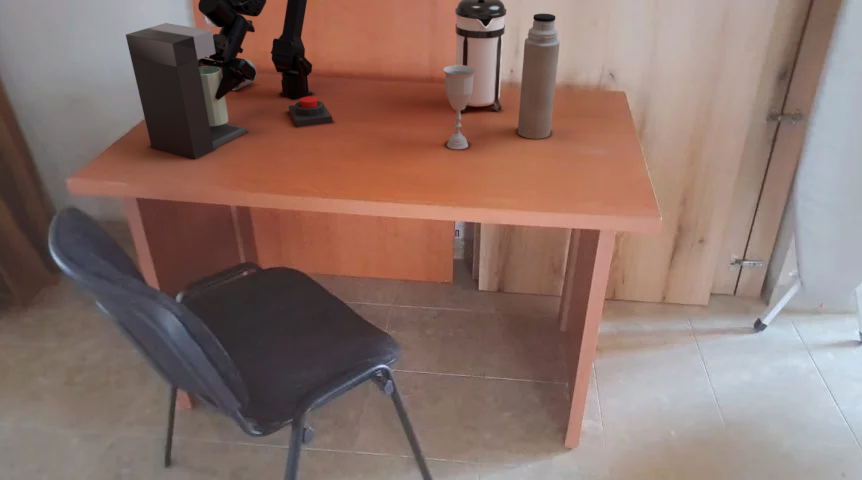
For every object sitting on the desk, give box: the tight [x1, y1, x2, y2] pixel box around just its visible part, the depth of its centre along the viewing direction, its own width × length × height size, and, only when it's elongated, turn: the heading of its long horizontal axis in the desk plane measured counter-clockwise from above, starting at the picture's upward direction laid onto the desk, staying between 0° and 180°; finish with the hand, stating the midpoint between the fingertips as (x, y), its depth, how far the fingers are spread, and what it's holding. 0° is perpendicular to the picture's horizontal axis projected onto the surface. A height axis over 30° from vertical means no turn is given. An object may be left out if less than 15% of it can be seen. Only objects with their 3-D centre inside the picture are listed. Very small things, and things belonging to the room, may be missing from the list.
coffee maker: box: [125, 22, 248, 160], centre depth 161 cm, size 18×14×26 cm
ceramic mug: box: [220, 58, 258, 91], centre depth 199 cm, size 11×8×8 cm
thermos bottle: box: [517, 13, 561, 140], centre depth 164 cm, size 8×8×28 cm
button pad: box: [288, 99, 333, 128], centre depth 179 cm, size 11×9×4 cm
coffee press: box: [454, 0, 507, 114], centre depth 181 cm, size 17×16×30 cm
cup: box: [199, 66, 230, 126], centre depth 167 cm, size 7×7×12 cm
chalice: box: [442, 64, 476, 150], centre depth 161 cm, size 7×7×18 cm
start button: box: [299, 95, 319, 108], centre depth 178 cm, size 4×4×2 cm
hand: (205, 96), depth 166 cm, fingers closed on cup, 7 cm apart
